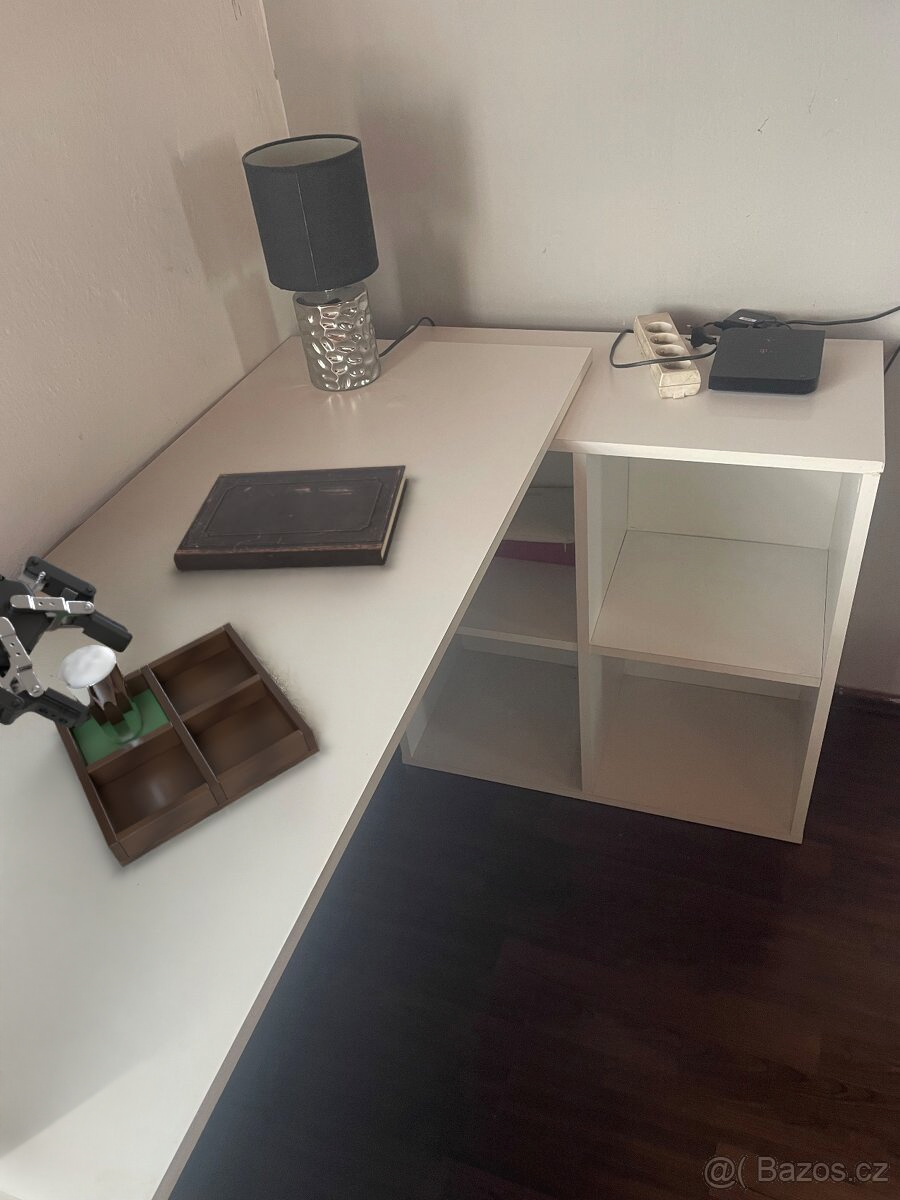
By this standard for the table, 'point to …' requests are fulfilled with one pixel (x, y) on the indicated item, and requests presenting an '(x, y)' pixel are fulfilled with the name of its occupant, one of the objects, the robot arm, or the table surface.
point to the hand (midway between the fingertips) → (108, 680)
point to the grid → (188, 743)
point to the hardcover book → (295, 519)
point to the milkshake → (102, 691)
